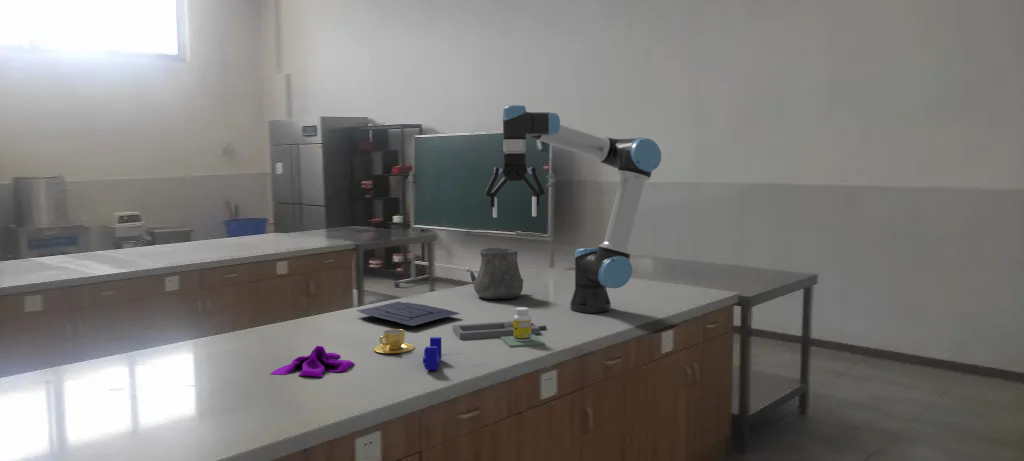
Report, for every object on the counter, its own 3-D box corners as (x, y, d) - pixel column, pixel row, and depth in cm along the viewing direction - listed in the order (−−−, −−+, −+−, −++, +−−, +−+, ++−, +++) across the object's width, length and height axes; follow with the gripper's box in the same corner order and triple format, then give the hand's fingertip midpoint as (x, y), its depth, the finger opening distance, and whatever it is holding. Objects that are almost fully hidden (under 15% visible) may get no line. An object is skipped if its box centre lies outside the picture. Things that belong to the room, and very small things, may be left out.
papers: (401, 307, 279) (401, 298, 278) (461, 320, 260) (461, 310, 260) (351, 319, 259) (351, 309, 259) (412, 334, 241) (412, 323, 241)
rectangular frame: (540, 325, 250) (540, 317, 250) (551, 333, 239) (551, 325, 238) (452, 331, 242) (452, 323, 242) (459, 339, 231) (459, 331, 231)
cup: (400, 342, 229) (399, 325, 228) (422, 349, 220) (422, 331, 219) (366, 349, 221) (365, 331, 220) (388, 356, 212) (387, 338, 211)
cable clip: (425, 357, 210) (425, 337, 210) (441, 357, 210) (441, 337, 210) (420, 369, 198) (419, 347, 198) (436, 369, 198) (436, 347, 198)
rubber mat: (534, 336, 234) (534, 334, 234) (544, 344, 224) (544, 342, 224) (500, 338, 232) (500, 336, 232) (509, 347, 221) (509, 345, 221)
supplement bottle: (512, 337, 230) (512, 306, 229) (530, 337, 231) (530, 306, 230) (514, 342, 225) (514, 310, 224) (531, 341, 225) (531, 309, 224)
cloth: (330, 354, 216) (329, 333, 216) (368, 366, 204) (367, 344, 203) (259, 370, 200) (258, 347, 200) (295, 384, 188) (294, 360, 187)
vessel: (538, 299, 296) (538, 250, 294) (492, 306, 284) (491, 254, 282) (508, 292, 314) (508, 245, 312) (463, 297, 302) (462, 248, 300)
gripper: (547, 152, 252) (547, 215, 254) (475, 152, 246) (475, 216, 248) (553, 152, 245) (553, 216, 247) (480, 152, 239) (480, 218, 241)
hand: (514, 216), depth 247 cm, fingers open, 13 cm apart
